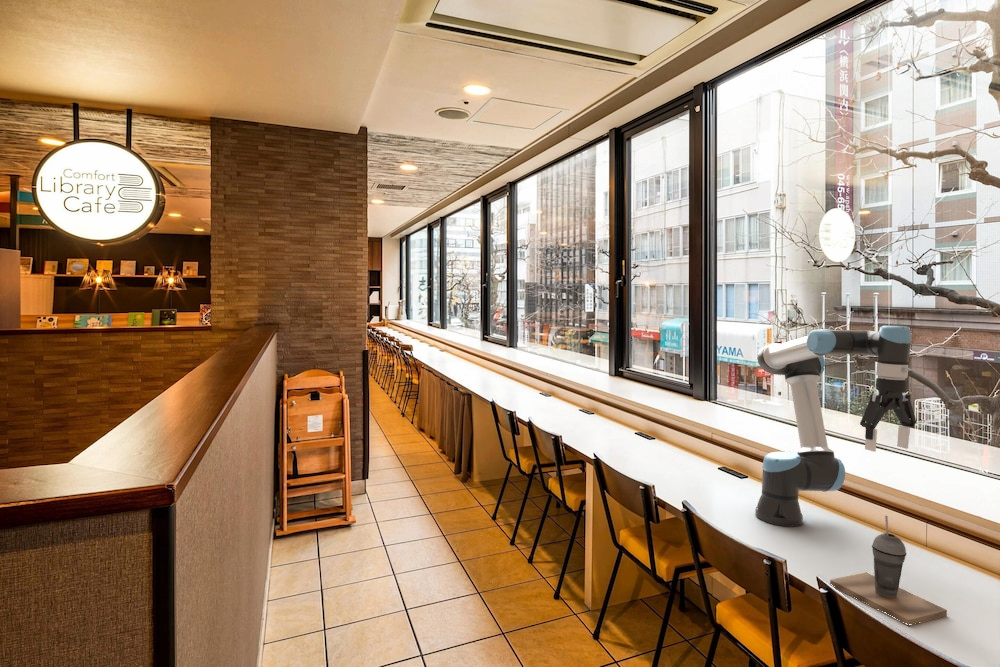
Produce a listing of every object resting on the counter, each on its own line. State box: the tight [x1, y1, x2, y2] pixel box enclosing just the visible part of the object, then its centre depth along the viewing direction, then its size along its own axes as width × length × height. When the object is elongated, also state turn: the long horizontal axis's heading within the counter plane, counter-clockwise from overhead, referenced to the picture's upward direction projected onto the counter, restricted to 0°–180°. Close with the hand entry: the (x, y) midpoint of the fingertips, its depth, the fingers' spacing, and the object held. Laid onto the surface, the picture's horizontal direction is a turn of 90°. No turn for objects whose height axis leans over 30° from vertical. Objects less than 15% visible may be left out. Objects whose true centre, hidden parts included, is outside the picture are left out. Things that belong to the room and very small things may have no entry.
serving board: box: [829, 572, 948, 625], centre depth 139 cm, size 20×14×2 cm
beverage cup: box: [871, 515, 907, 599], centre depth 139 cm, size 7×7×20 cm
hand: (886, 449), depth 161 cm, fingers open, 13 cm apart
